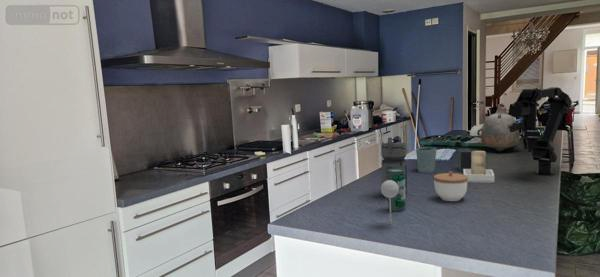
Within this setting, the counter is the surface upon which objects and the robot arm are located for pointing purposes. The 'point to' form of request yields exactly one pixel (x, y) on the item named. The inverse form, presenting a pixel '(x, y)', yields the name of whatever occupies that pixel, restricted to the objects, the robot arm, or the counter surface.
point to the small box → (464, 159)
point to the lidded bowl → (450, 186)
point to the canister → (478, 162)
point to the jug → (499, 130)
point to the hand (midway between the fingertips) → (527, 150)
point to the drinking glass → (426, 159)
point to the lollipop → (389, 191)
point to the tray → (480, 176)
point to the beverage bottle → (393, 157)
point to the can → (399, 200)
